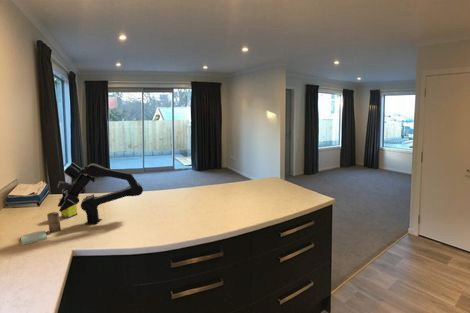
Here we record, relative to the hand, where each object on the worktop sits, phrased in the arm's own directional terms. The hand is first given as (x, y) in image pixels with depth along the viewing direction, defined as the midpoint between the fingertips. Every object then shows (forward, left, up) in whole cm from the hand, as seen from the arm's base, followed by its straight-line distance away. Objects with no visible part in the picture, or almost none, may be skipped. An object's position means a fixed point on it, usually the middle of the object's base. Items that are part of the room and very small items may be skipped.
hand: (59, 208), depth 158 cm
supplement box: (-19, -6, -11) cm, 23 cm away
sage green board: (+11, -7, -11) cm, 17 cm away
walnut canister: (+2, -2, -11) cm, 11 cm away
